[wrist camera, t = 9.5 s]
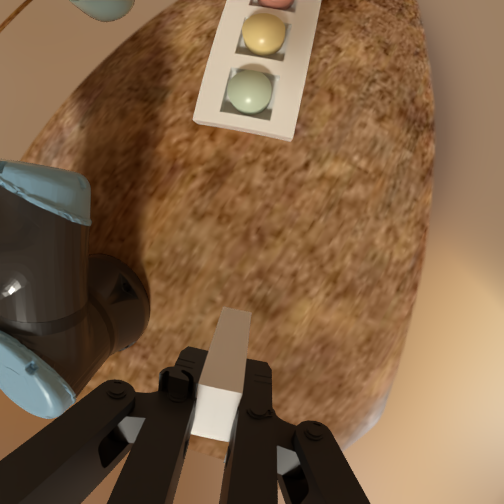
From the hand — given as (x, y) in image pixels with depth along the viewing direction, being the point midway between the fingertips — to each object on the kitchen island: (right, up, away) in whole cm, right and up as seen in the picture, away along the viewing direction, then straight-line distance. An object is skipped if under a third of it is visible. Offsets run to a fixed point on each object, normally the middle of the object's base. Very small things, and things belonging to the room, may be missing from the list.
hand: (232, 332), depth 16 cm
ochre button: (+3, +31, +15) cm, 34 cm away
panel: (+3, +31, +17) cm, 36 cm away
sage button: (+1, +23, +18) cm, 29 cm away
